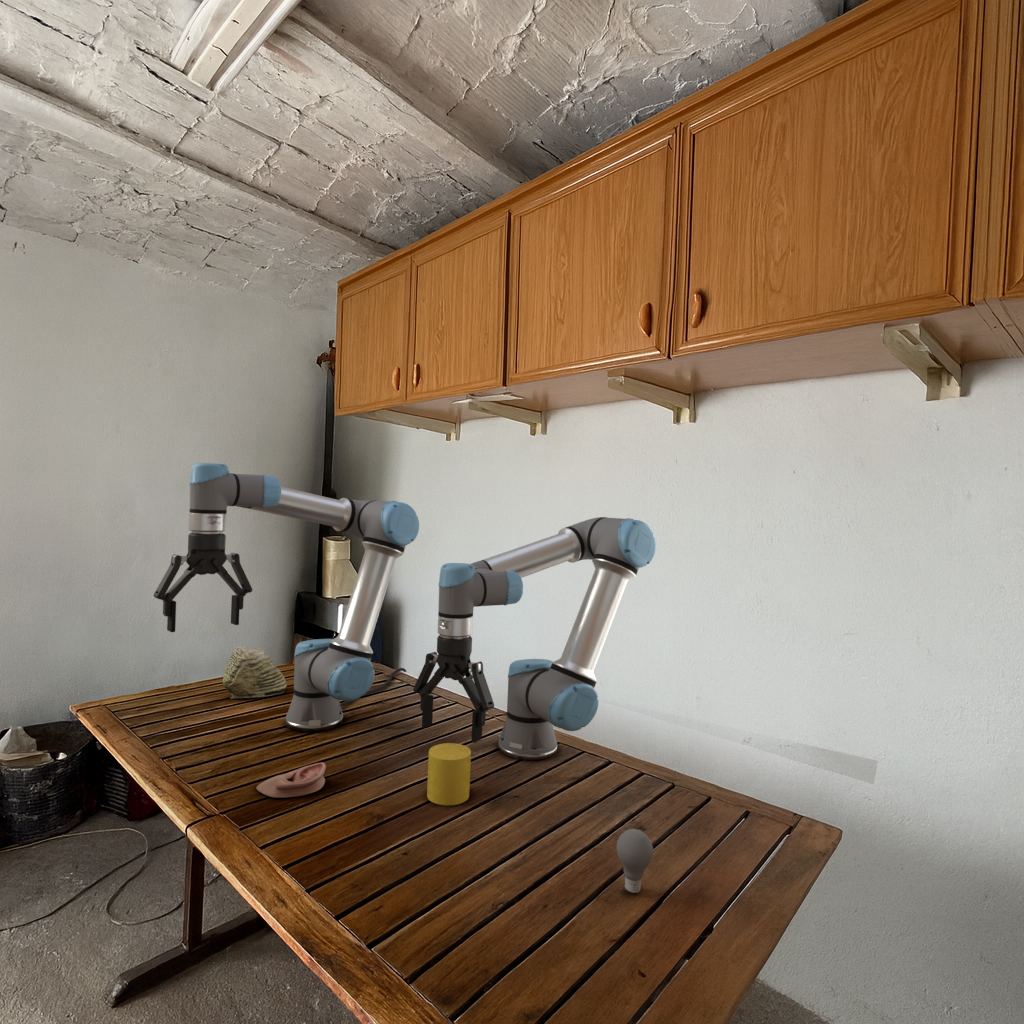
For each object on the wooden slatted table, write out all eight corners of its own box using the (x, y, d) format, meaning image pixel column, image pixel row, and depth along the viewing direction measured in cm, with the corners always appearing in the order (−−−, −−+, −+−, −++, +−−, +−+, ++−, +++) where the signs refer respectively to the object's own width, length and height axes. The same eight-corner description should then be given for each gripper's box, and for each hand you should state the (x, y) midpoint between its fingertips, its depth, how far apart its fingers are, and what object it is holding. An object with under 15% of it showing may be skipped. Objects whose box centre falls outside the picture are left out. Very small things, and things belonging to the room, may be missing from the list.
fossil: (218, 695, 195) (220, 647, 195) (278, 685, 208) (279, 640, 207) (228, 703, 189) (230, 653, 188) (289, 692, 201) (290, 645, 201)
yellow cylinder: (452, 782, 143) (454, 740, 143) (477, 797, 137) (479, 753, 136) (418, 793, 137) (420, 749, 137) (443, 809, 130) (445, 763, 130)
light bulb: (610, 879, 108) (613, 822, 108) (644, 879, 109) (647, 822, 109) (619, 902, 102) (622, 840, 102) (655, 901, 103) (658, 840, 103)
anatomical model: (248, 775, 133) (279, 754, 144) (247, 794, 133) (278, 771, 144) (306, 783, 130) (332, 761, 142) (305, 802, 130) (332, 779, 142)
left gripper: (151, 534, 129) (147, 637, 130) (269, 533, 147) (265, 623, 148) (139, 531, 134) (136, 631, 135) (255, 531, 152) (251, 618, 153)
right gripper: (399, 629, 140) (396, 724, 140) (492, 647, 126) (488, 753, 127) (422, 624, 146) (418, 715, 147) (512, 641, 133) (508, 741, 133)
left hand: (204, 627), depth 141 cm, fingers open, 13 cm apart
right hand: (451, 733), depth 137 cm, fingers open, 13 cm apart
